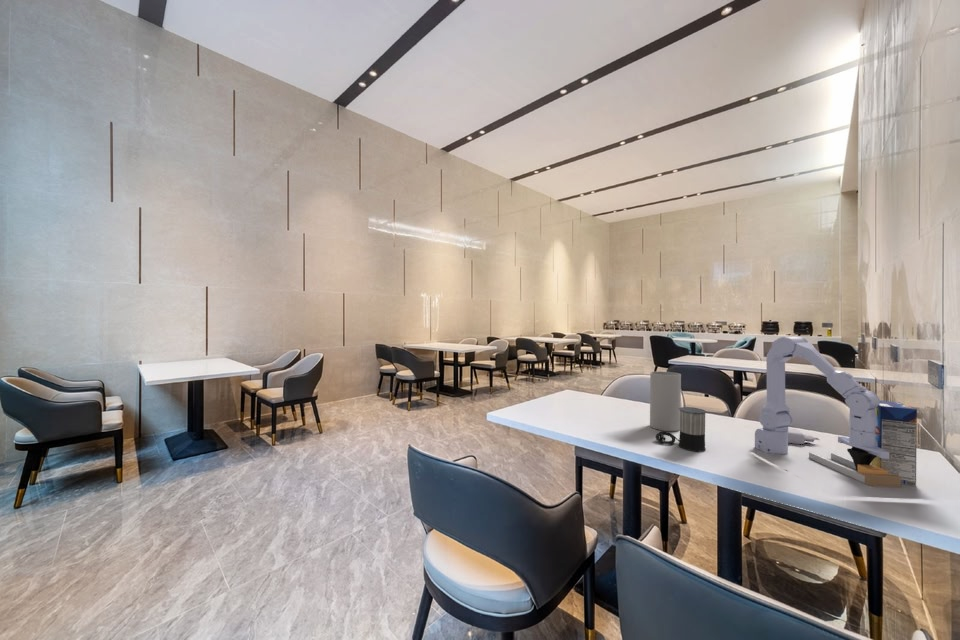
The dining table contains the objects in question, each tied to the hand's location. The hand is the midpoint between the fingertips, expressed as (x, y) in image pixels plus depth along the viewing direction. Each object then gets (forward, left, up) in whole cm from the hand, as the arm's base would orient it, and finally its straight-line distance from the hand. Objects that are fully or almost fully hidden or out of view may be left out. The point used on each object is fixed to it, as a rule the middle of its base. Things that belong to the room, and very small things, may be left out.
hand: (861, 473), depth 115 cm
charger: (+7, +37, -2) cm, 38 cm away
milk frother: (-43, +27, -2) cm, 50 cm away
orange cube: (0, -3, -1) cm, 4 cm away
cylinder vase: (-38, +51, -2) cm, 64 cm away
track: (0, +4, -2) cm, 4 cm away
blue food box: (+9, +1, -3) cm, 10 cm away
